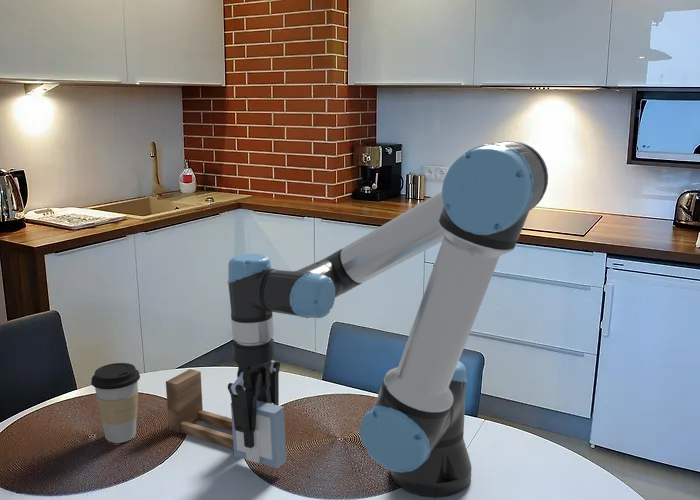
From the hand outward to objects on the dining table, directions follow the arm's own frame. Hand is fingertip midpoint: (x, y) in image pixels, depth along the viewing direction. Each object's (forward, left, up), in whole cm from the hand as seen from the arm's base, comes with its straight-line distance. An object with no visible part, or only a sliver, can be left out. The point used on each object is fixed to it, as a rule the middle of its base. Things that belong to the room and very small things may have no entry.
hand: (259, 455), depth 123 cm
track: (+16, -7, -3) cm, 17 cm away
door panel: (0, 0, -1) cm, 1 cm away
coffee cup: (+33, +4, -3) cm, 33 cm away
